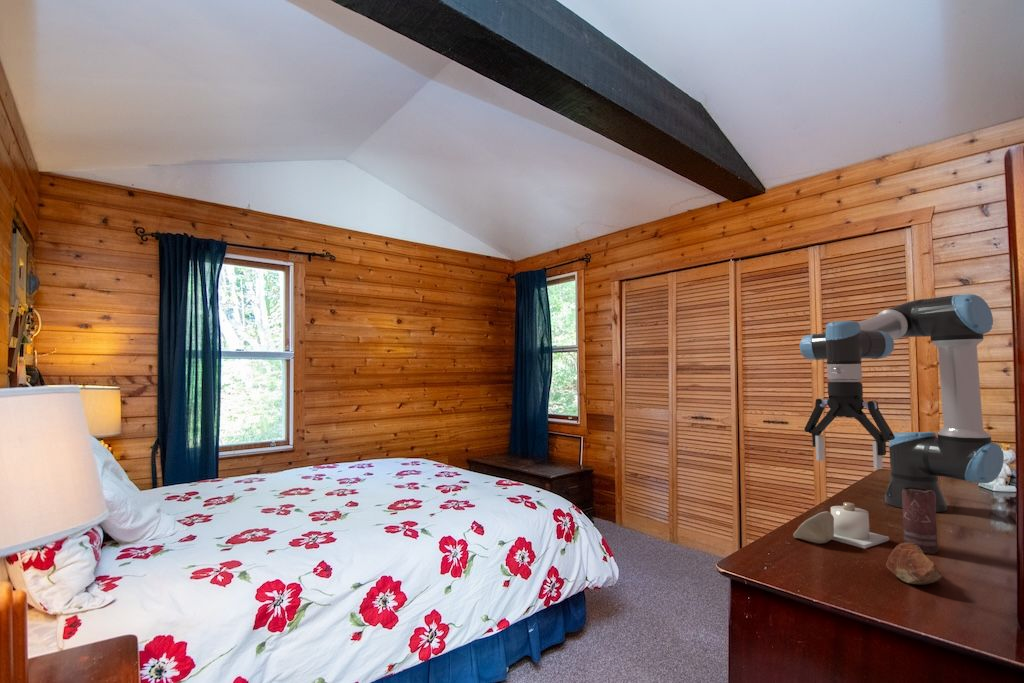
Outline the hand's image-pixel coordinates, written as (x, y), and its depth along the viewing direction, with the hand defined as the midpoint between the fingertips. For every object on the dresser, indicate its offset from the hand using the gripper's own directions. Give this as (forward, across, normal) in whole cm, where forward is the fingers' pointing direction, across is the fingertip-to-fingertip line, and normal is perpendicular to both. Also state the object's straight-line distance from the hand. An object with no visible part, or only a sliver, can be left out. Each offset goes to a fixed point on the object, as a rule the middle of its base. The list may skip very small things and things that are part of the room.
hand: (847, 464), depth 127 cm
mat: (+18, 0, 0) cm, 18 cm away
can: (+18, +13, +5) cm, 23 cm away
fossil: (+18, +20, -17) cm, 32 cm away
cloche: (+17, 0, 0) cm, 17 cm away
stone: (+18, -3, -11) cm, 22 cm away
